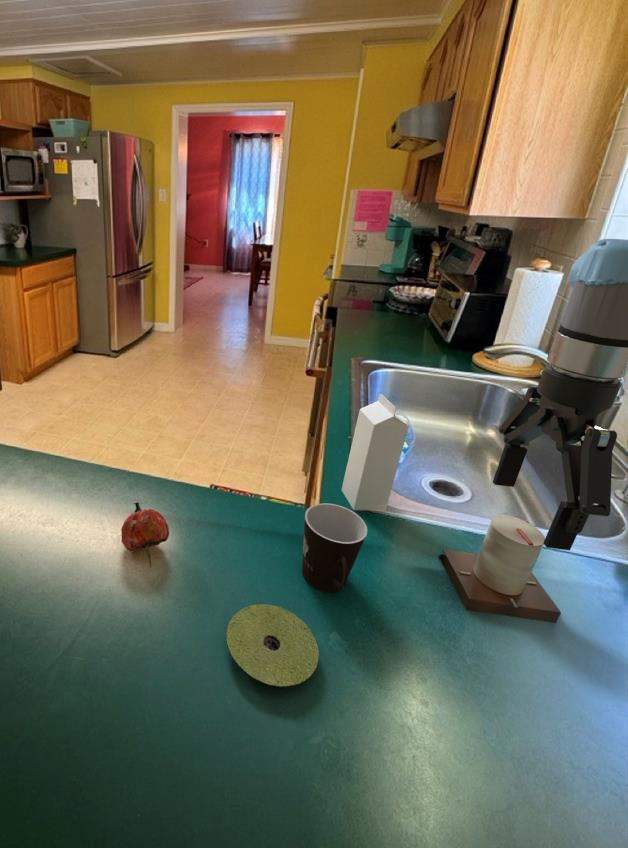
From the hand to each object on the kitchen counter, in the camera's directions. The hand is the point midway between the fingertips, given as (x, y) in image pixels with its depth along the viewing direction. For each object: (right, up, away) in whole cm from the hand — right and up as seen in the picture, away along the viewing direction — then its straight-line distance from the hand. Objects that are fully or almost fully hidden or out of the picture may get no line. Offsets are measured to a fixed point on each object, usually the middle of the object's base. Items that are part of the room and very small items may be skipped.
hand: (527, 513), depth 65 cm
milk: (-15, -6, +22) cm, 27 cm away
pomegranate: (-54, -8, +8) cm, 55 cm away
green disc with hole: (-37, -16, -7) cm, 41 cm away
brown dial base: (-1, -13, +5) cm, 14 cm away
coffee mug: (-27, -12, +5) cm, 30 cm away
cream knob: (-1, -11, +4) cm, 12 cm away
